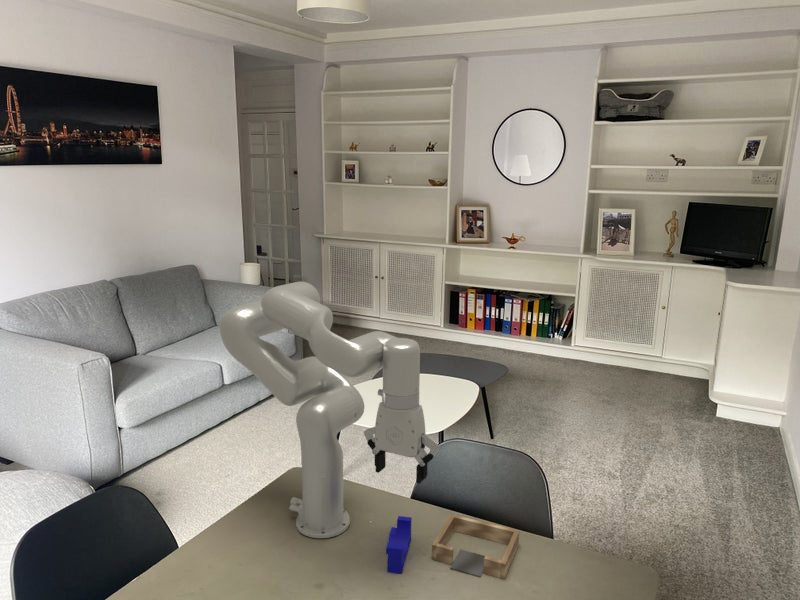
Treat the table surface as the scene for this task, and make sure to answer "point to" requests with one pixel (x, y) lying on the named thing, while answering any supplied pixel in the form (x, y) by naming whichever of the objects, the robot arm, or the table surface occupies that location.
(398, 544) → the blue stepped block
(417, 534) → the table surface
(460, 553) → the walled box
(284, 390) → the robot arm
